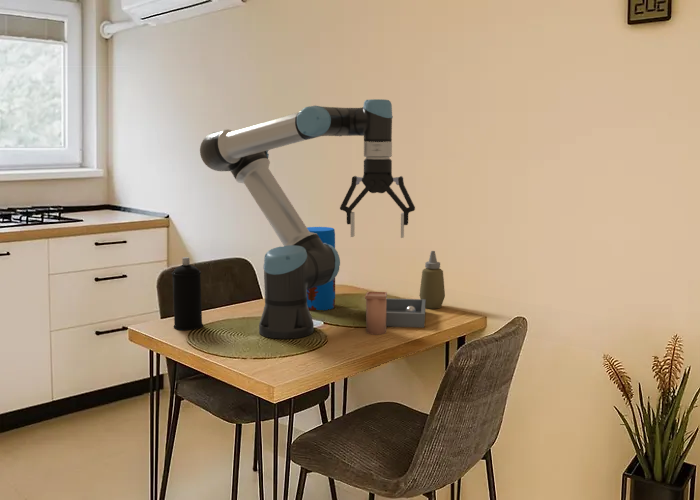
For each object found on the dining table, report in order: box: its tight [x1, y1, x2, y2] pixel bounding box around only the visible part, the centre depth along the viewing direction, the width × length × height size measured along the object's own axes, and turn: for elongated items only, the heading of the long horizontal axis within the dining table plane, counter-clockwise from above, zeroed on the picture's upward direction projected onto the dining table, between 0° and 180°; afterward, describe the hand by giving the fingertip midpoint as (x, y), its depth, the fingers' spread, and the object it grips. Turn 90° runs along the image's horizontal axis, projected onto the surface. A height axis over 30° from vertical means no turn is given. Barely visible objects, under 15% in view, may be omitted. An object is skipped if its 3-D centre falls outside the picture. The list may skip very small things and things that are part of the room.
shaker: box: [364, 291, 388, 336], centre depth 200 cm, size 6×6×11 cm
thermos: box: [306, 226, 336, 311], centre depth 228 cm, size 11×11×25 cm
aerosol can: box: [170, 256, 204, 331], centre depth 205 cm, size 8×8×20 cm
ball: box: [406, 306, 416, 313], centre depth 216 cm, size 3×3×3 cm
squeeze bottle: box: [419, 250, 446, 310], centre depth 228 cm, size 8×8×18 cm
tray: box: [386, 297, 426, 328], centre depth 215 cm, size 16×18×4 cm
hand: (377, 236), depth 197 cm, fingers open, 13 cm apart
